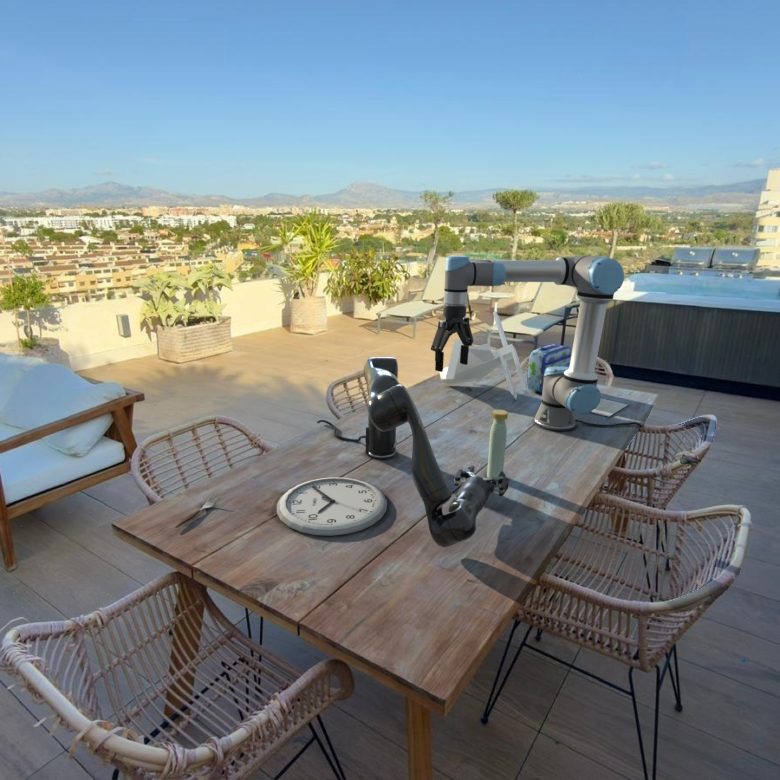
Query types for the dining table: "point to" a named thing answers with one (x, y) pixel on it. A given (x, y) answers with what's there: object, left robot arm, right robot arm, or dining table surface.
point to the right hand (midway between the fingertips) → (451, 367)
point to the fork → (206, 505)
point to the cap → (500, 414)
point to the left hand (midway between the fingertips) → (487, 471)
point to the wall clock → (331, 506)
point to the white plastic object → (483, 363)
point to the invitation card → (608, 407)
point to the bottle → (496, 448)
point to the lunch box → (546, 363)
